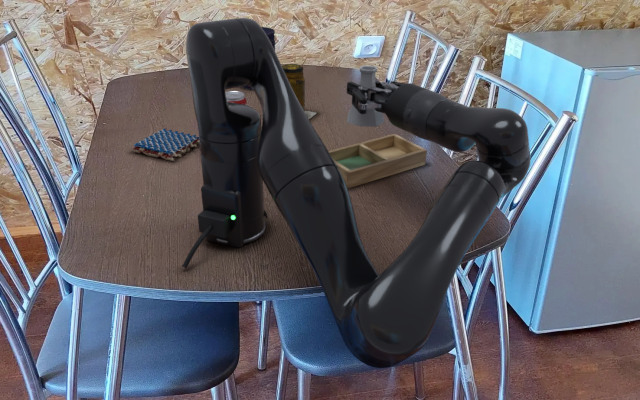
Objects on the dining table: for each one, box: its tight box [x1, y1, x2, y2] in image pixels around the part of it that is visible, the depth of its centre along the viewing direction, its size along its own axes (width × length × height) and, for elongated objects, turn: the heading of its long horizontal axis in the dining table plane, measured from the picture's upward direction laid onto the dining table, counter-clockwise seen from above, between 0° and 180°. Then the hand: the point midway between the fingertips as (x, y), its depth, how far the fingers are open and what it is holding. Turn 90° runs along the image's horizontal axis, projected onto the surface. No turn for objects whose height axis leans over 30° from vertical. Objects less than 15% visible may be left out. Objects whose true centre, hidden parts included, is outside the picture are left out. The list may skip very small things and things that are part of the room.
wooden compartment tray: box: [328, 133, 428, 189], centre depth 113 cm, size 10×19×3 cm, turn 124°
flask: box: [346, 64, 385, 128], centre depth 102 cm, size 7×7×10 cm
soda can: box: [225, 90, 248, 106], centre depth 117 cm, size 5×5×12 cm
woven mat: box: [132, 128, 200, 162], centre depth 119 cm, size 10×11×2 cm
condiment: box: [281, 63, 317, 120], centre depth 136 cm, size 7×8×12 cm
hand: (357, 85), depth 104 cm, fingers closed on flask, 3 cm apart
